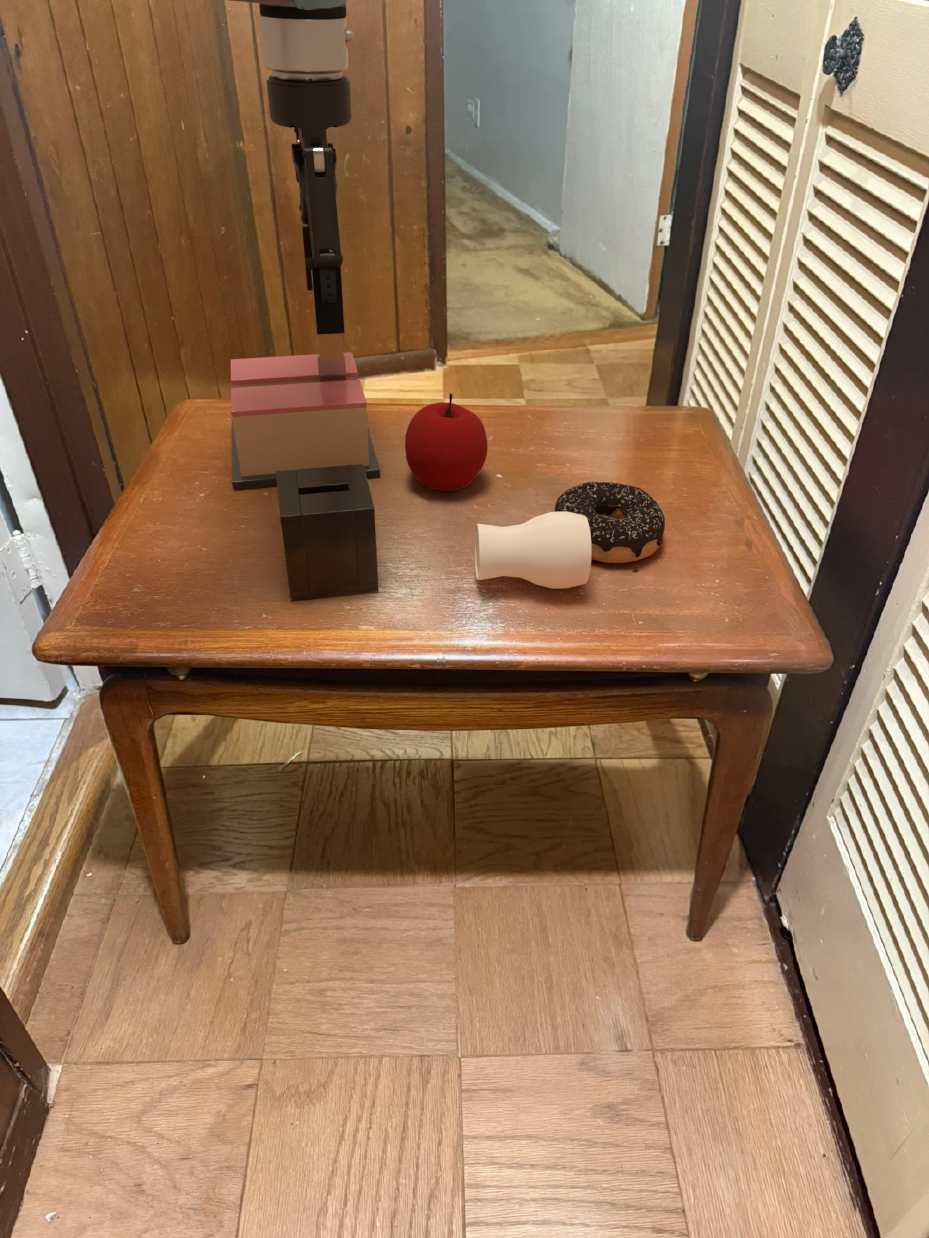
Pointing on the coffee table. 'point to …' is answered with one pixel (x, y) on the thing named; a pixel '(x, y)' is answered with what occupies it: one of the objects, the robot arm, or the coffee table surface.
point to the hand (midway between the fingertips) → (324, 310)
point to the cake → (295, 419)
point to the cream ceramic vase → (537, 550)
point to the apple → (445, 446)
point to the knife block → (328, 531)
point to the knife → (330, 356)
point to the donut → (616, 519)
